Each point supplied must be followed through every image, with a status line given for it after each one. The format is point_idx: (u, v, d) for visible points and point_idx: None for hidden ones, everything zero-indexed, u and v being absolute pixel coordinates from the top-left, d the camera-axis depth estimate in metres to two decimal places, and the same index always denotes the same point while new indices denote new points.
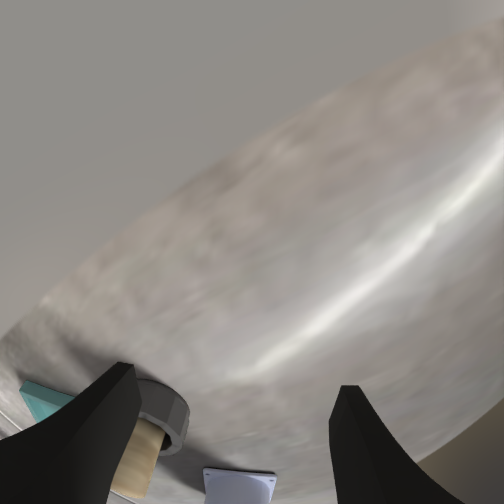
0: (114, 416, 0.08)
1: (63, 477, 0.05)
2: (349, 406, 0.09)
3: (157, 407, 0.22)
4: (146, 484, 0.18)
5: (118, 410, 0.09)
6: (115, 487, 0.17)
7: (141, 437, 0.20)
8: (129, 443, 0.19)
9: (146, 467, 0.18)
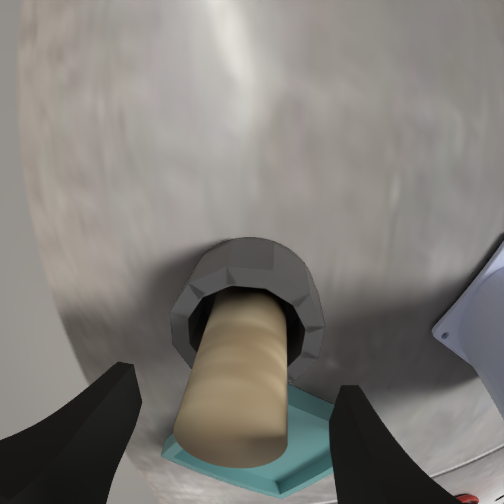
0: (114, 415, 0.08)
1: (63, 477, 0.05)
2: (349, 406, 0.09)
3: (207, 265, 0.14)
4: (256, 393, 0.09)
5: (118, 410, 0.09)
6: (234, 458, 0.09)
7: (215, 327, 0.12)
8: (198, 351, 0.11)
9: (239, 361, 0.10)
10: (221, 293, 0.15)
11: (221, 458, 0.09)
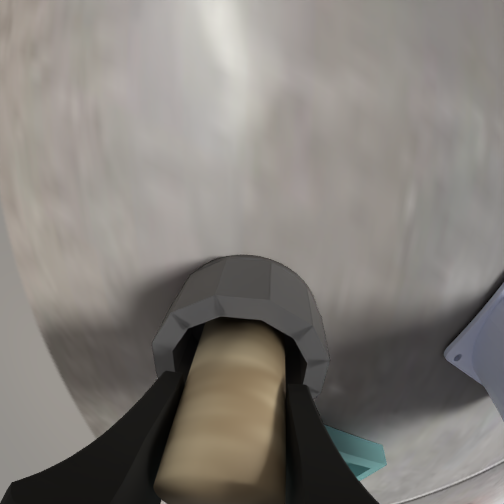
0: (167, 428, 0.08)
1: (128, 500, 0.05)
2: (290, 405, 0.09)
3: (194, 291, 0.12)
4: (248, 454, 0.07)
5: (170, 421, 0.09)
6: None
7: (202, 365, 0.10)
8: (183, 393, 0.09)
9: (229, 414, 0.08)
10: (211, 320, 0.13)
11: None
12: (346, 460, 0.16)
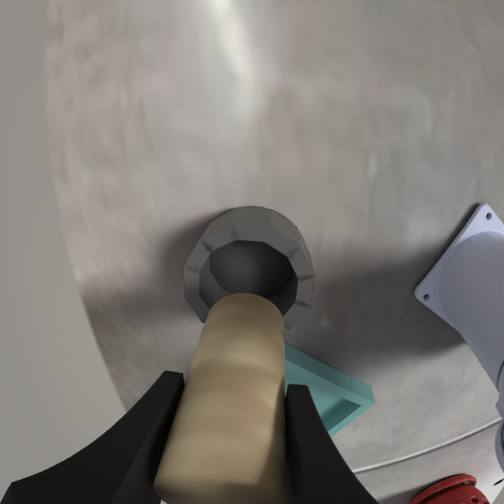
0: (167, 428, 0.08)
1: (128, 500, 0.05)
2: (290, 405, 0.09)
3: (216, 226, 0.16)
4: (248, 454, 0.07)
5: (170, 421, 0.09)
6: None
7: (202, 365, 0.10)
8: (182, 393, 0.09)
9: (228, 414, 0.08)
10: (210, 320, 0.13)
11: None
12: (338, 394, 0.21)
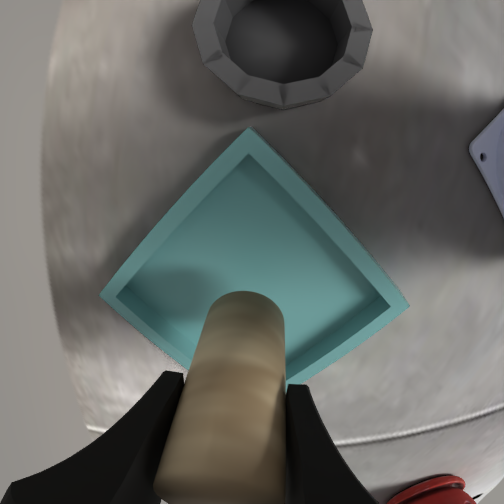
0: (167, 428, 0.08)
1: (128, 500, 0.05)
2: (290, 405, 0.09)
3: None
4: (246, 453, 0.07)
5: (170, 421, 0.09)
6: None
7: (200, 364, 0.10)
8: (182, 392, 0.09)
9: (227, 413, 0.08)
10: (210, 318, 0.13)
11: None
12: (366, 272, 0.15)
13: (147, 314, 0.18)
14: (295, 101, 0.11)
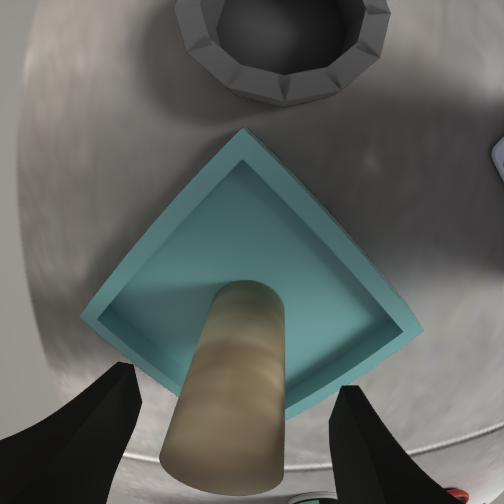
0: (114, 416, 0.08)
1: (63, 477, 0.05)
2: (349, 406, 0.09)
3: None
4: (247, 423, 0.07)
5: (118, 410, 0.09)
6: (226, 487, 0.08)
7: (205, 344, 0.11)
8: (188, 371, 0.10)
9: (230, 386, 0.09)
10: (214, 305, 0.14)
11: (213, 486, 0.08)
12: (377, 296, 0.13)
13: (132, 337, 0.16)
14: (298, 96, 0.09)
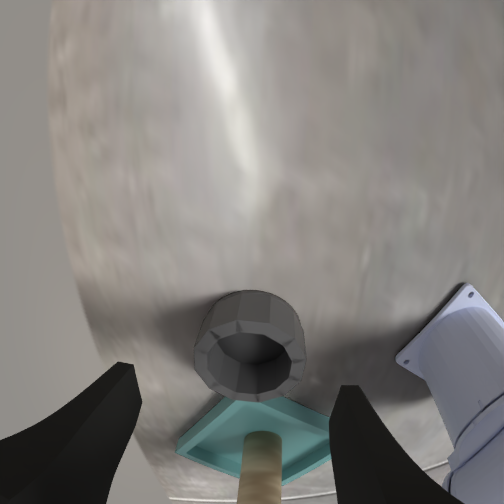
0: (114, 416, 0.08)
1: (63, 477, 0.05)
2: (349, 406, 0.09)
3: (222, 315, 0.18)
4: None
5: (118, 410, 0.09)
6: None
7: (245, 472, 0.22)
8: (239, 483, 0.21)
9: (257, 492, 0.19)
10: (245, 446, 0.24)
11: None
12: (324, 436, 0.23)
13: (205, 455, 0.27)
14: (264, 400, 0.20)
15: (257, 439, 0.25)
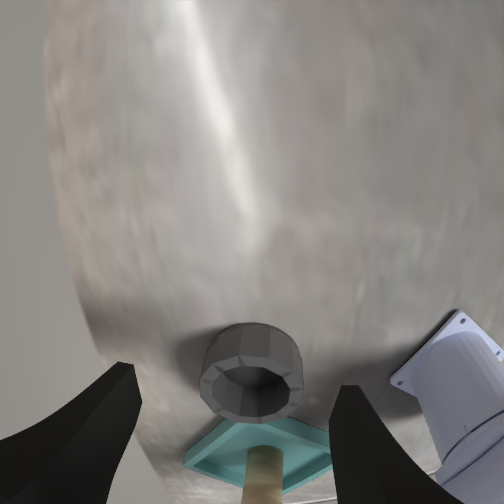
0: (114, 416, 0.08)
1: (63, 477, 0.05)
2: (349, 406, 0.09)
3: (225, 349, 0.19)
4: None
5: (118, 410, 0.09)
6: None
7: (248, 484, 0.23)
8: (243, 495, 0.22)
9: None
10: (249, 460, 0.25)
11: None
12: (323, 450, 0.24)
13: (211, 467, 0.28)
14: (266, 422, 0.21)
15: (260, 453, 0.25)
